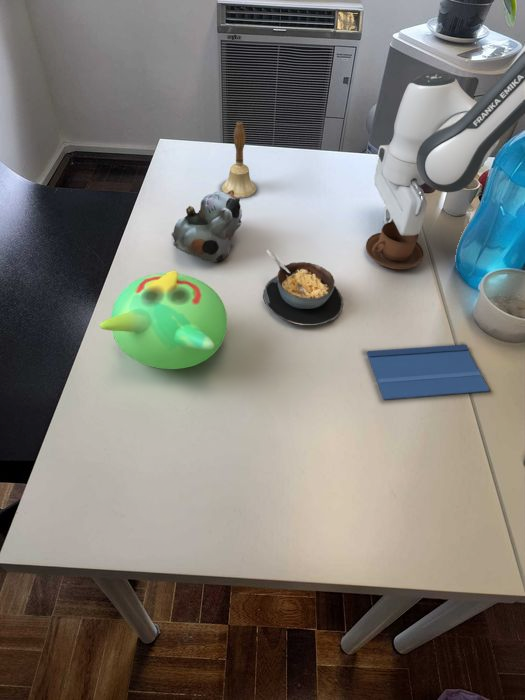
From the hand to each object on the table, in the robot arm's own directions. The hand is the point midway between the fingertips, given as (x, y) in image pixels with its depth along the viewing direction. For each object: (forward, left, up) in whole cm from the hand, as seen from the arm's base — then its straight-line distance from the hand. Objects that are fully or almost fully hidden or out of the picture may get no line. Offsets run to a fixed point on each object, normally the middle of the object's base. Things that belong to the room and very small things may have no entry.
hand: (388, 227), depth 101 cm
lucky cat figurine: (+39, 0, -3) cm, 39 cm away
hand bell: (+30, -22, -3) cm, 38 cm away
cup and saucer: (0, +6, -3) cm, 7 cm away
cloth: (+4, +37, -3) cm, 37 cm away
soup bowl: (+22, +18, -3) cm, 28 cm away
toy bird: (+46, +29, -3) cm, 54 cm away
